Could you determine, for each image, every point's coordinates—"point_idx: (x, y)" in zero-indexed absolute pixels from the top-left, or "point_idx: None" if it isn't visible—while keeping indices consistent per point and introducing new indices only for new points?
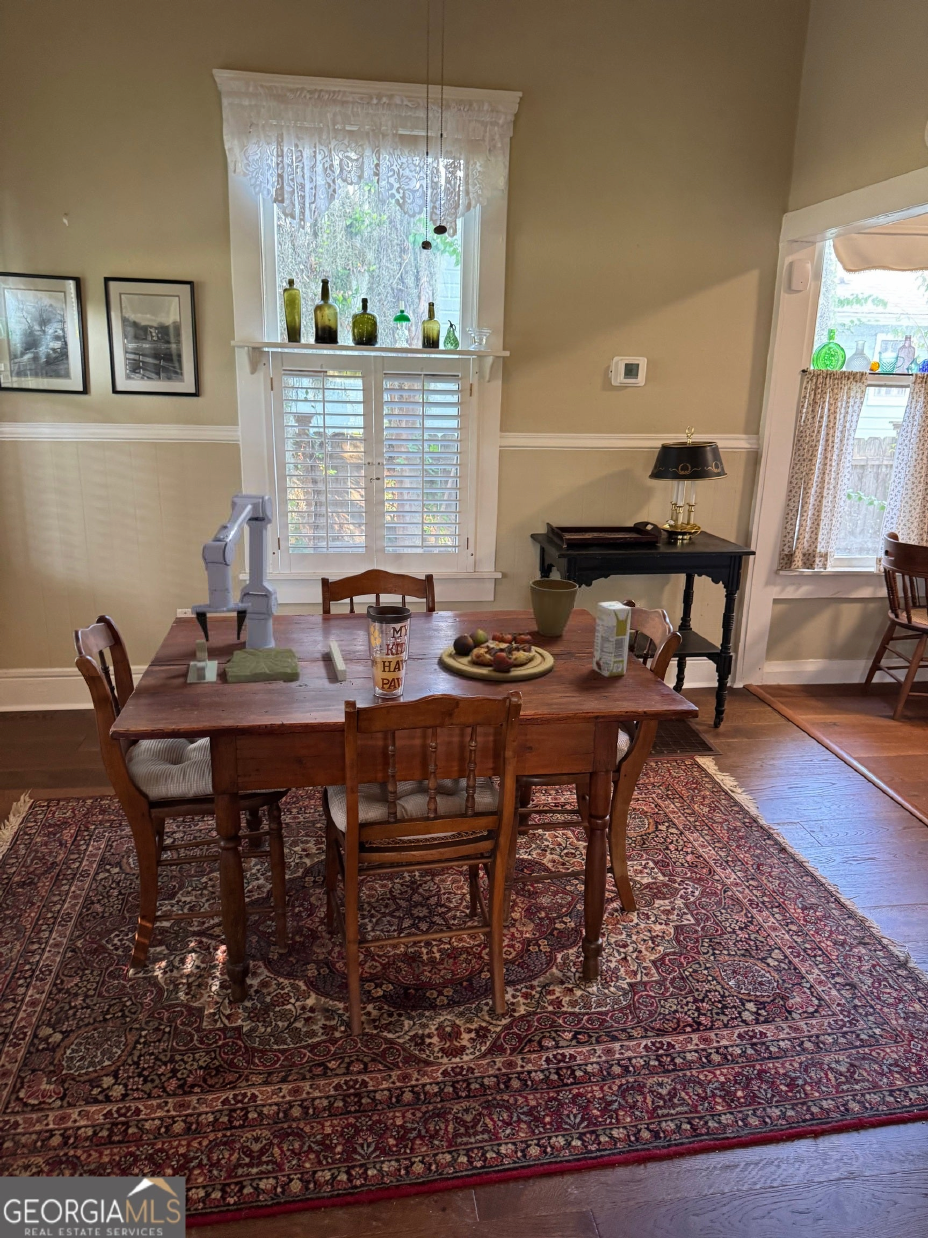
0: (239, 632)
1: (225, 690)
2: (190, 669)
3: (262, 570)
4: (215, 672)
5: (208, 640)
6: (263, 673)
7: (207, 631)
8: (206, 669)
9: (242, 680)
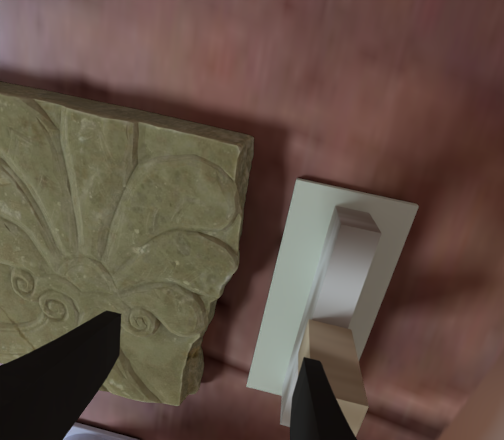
0: (67, 337)
1: (277, 63)
2: (360, 344)
3: None
4: (277, 276)
5: (305, 361)
6: (84, 108)
7: (309, 425)
8: (308, 301)
9: (188, 124)
